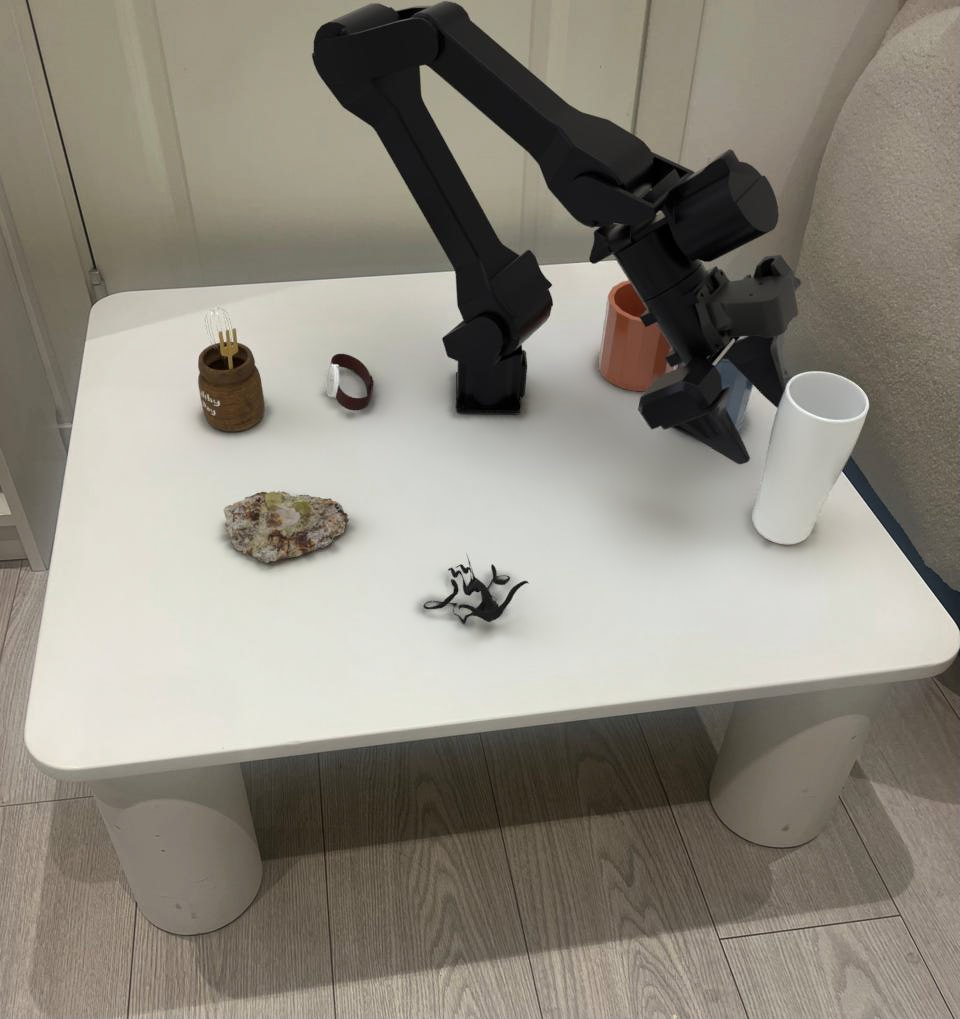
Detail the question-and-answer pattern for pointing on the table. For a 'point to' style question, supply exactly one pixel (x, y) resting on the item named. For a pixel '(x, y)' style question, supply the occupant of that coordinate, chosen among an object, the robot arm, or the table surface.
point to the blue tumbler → (734, 390)
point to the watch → (333, 381)
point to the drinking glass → (807, 452)
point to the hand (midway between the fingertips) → (764, 433)
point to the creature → (487, 606)
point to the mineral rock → (283, 524)
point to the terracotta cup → (631, 343)
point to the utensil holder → (229, 384)
